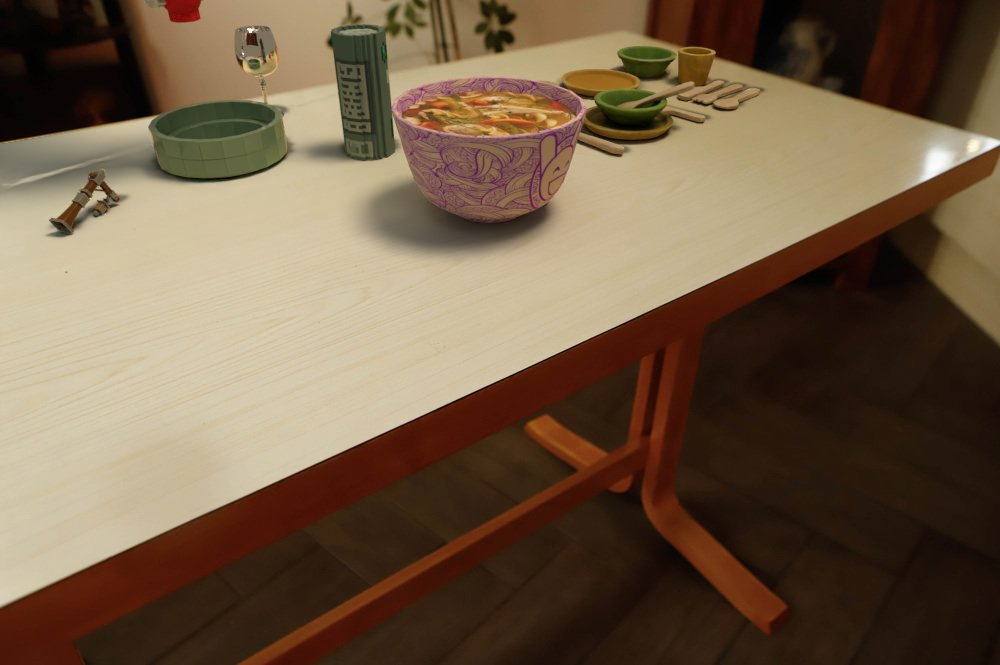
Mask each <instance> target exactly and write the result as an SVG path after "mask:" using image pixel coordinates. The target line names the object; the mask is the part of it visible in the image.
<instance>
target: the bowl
mask: <svg viewBox="0 0 1000 665" xmlns="http://www.w3.org/2000/svg"><path fill="white" fill-rule="evenodd" d="M283 118H284V117H282V111H281V110H280V109H279V108H278V107H277V106H275V105H272V104H270V103H268V104H267V103H264V102H262V101H255V100H248V99H224V100H222V99H219V100H210V101H202V102H195V103H191V104H187V105H182V106H179V107H175V108H173V109H171V110H168V111H165V112H162V113H161V114H159V115H157V116H156V117H154V118H153V119H152V120H151V121H150V123H149V124H148V127H147V128H148V131H149V136H150V140H151V142H152V146H153V149H154V154H155V156H156V159H157V163H158V165H159V167H160V169H161V170H163V171H165V172H166V173H169V174H171V175H175V176H178V177H183V178H194V179H225V178H231V177H237V176H243V175H246V174H250V173H253V172H257V171H259V170H262V169H266V168H268V167H270V166H271V165H273V164H275V163H277V162H279V161H280V160H282V158H284V157H285V155H286V154H287V152H288V143H287V136H286V131H285V125H284V119H283Z"/></svg>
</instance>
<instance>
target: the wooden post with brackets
mask: <svg viewBox="0 0 1000 665" xmlns="http://www.w3.org/2000/svg"><path fill="white" fill-rule="evenodd" d="M105 174H106V170H105V169H104V168H98V169H97V170H96V169H94V170H93V171H91V172H90V173H89V174H88V178H87V182H86V184H85V185H84V186H83V188H80V189H78V191H79V192H77V193H76V195H75V196H74V197H73V199H71V204H70V205H69V206H68V207H67V208H66V209H65V210H64V211H63V212H61V213H60V215H58V216H57V217H50V218H49V219H48V221H49V222H50V224H52V225H53V226H54V227H55V229H57V231H59V232H61V233H66V234H71V235H73V234H74V232H75V230H74V229H73V228H72V227H73V225H74V222H75V220H76V218H77V217H78V215H79V213H80V212H81V210H82V209H85V207H86V205H87V204H88V203H89V202H90V201H91V199H93V197H94V195H93V194H94V192H103V193H104V194H105V195H106V197H105V198H103V197H102V200H100V199H96V202H97V203H96V204H95V205H94V206H92V207H91V208H92V210H93V212H92V214H93V215H94V216H95V217H99V216H100V215H102V216H104V215H105V212H106V211H107V209H111V207H110V205H109V203H111V202H110V200H111V201H112V202H114V203H119V201H120V200H121V198H120V197H119V195H118V194H117V192H116V191H115V190H114V189H111V187H110V186H109V185H108V183H106V182H105V179H107V176H106V175H105ZM98 187H100V189H99V188H98Z"/></svg>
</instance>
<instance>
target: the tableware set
mask: <svg viewBox="0 0 1000 665" xmlns="http://www.w3.org/2000/svg"><path fill="white" fill-rule="evenodd" d="M716 53H717V52H716V51H715V50H714V49H711V48H707V47H702V46H685V47H680V48H679V49H677V53H676V52H675V51H673V50H670V49H668V48H665V47H660V46H651V45H635V46H634V45H633V46H627V47H623V48H620V49H619V50H617V52H616V55H617V58H619V59H620V60H621V62H622V65H623V68H624V69H625V72H624V71H620V70H615V69H607V68H606V69H605V68H585V69H579V70H578V69H577V70H571V71H570V72H569V71H568V72H566V73H564V74H563V75H561V77H560V80H561V83H562V84H563V85H564V86H565V87H566V89H568V90H570V91H572V92H574V93H575V94H577V95H578V94H579V95H583V96H588V97H594V98H593V100H594V103H595V106H591V107H588V108H586V109H587V111H586V114H585V118H584V121H583V124H584V125H585V126H586V128H587V129H588V130H590V132H592V133H594V134H597V135H599V136H602V137H606V138H610V139H617V140H625V141H626V140H627V141H628V140H629V141H634V140H636V141H637V140H649V139H653V138H656V137H659V136H661V135H663V134H665V132H666V131H668V130H669V129H670V128H671V127H672V126H673V125H674V119H673V117H672V116H671V115H673V116H677V117H680V118H683V119H687V120H689V121H694V122H698V123H704V122H706V119H707V118H706V115H702V114H699V113H696V112H691V111H688V110H685V109H681V108H676V107H673V106H668V99H669V98H672V97H675V96H677V98H678V99H680V100H682V101H690V100H691V101H692V102H697V103H702V104H704V105H709V104H713V106H714V107H716V108H719V109H723V110H724V109H725V110H735V109H738V108H739V105H740V103H741V102H744V101H747V100H749V99H752V98H754V97H757V96H759V95H760V92H761V89H760V88H756V87H749V88H747V89H745V90H744V91H742V90H743V85H742V84H741V83H733V84H731V85H729V86H726V87H724V86H725V81H724V80H714V81H712V82H710V83H708V84H707V85H705V84H706V83H707V81H708V78H709V76H710V75H709V74H710V72H711V69H712V66H713V63H714V60H715V57H716ZM676 59H677V65H678V66H677V77H678V78H677V81H678V83H680V84H677V85H675V86H671V87H670V88H666V89H664V90H662V91H659V92H655V91H650V90H647V89H639V86H640V85H641V80H640V78H656V77H660V76H662V75H663V74H664V73H665V71H666V70H667V69H668V67H669V66H670V65H671V63H673V62H674V61H675V60H676ZM534 80H535V81H540V82H545V83H550V84H554V85H557V86H559V87H561V85H560V84H558V83H556V82H553V81H549V80H541V79H539V80H538V79H537V80H536V79H534ZM723 87H724V88H723ZM718 89H719V90H718ZM715 90H717V91H715ZM714 91H715V92H714ZM741 91H742V92H741ZM710 92H712V93H710ZM737 92H738V94H736V95H733V96H732V97H729V98H723V97H725V96H728V95H731V94H735V93H737ZM739 92H740V93H739ZM577 141H581V142H583V143H585V144H587V145H590V146H593V147H595V148H598V149H600V150H603V151H605V152H607V153H610V154H614V155H622V154H624V153H625V146H623V145H621V144H617V143H615V142H611V141H609V140H605V139H602V138H599V137H597V136H593V135H590V134H586V133H583V132H581V131H580V134H579V137H578V140H577Z"/></svg>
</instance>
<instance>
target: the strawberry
mask: <svg viewBox="0 0 1000 665" xmlns="http://www.w3.org/2000/svg"><path fill="white" fill-rule="evenodd" d="M166 2H167V6H163V8H164V9H165V10H166V11H167V13H168V18H169V21H170V22H172V23H175V24H176V23H177V24H181V23H182V24H183V23H193V22H197V21H200V20H201V14H200V6H201V3H202V1H201V0H166Z"/></svg>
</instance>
